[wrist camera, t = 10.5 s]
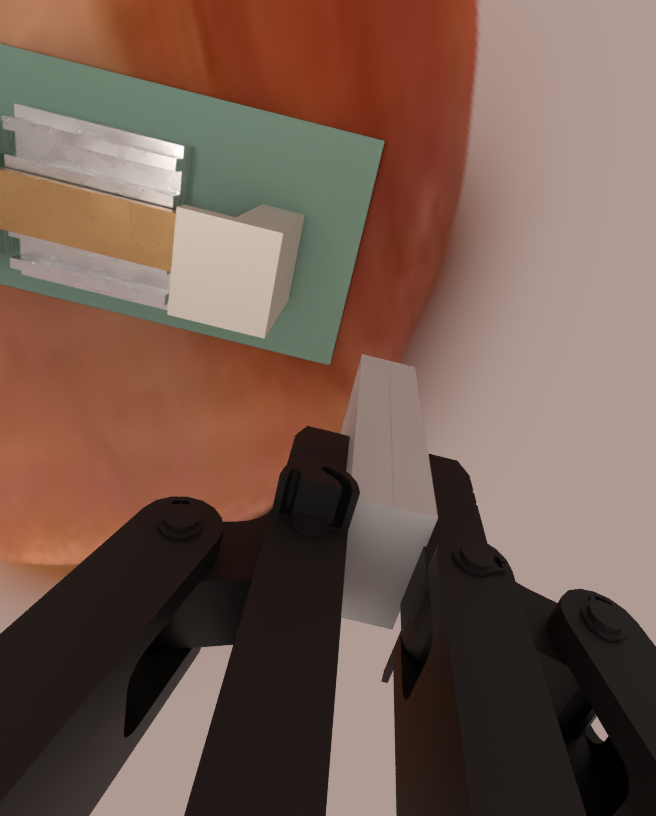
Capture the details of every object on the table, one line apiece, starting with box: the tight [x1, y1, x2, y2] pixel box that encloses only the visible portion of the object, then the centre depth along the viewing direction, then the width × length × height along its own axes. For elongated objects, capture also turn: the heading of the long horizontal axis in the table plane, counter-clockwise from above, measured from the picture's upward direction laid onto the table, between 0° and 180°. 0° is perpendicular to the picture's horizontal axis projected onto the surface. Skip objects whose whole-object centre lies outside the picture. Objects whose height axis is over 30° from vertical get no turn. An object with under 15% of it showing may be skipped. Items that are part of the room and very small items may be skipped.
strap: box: [0, 167, 176, 272], centre depth 28 cm, size 16×3×1 cm, turn 77°
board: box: [0, 44, 385, 365], centre depth 31 cm, size 24×13×1 cm, turn 77°
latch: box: [167, 204, 305, 339], centre depth 28 cm, size 5×5×7 cm
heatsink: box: [0, 103, 193, 310], centre depth 28 cm, size 12×9×6 cm
